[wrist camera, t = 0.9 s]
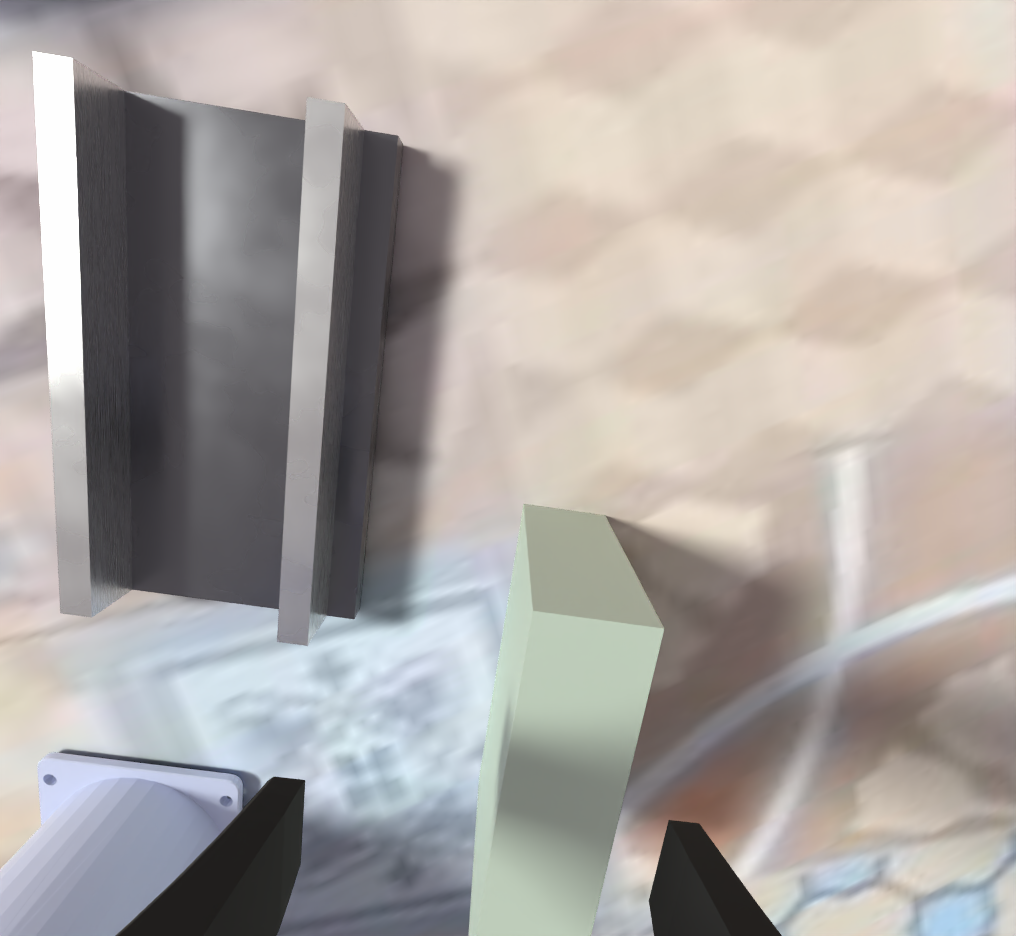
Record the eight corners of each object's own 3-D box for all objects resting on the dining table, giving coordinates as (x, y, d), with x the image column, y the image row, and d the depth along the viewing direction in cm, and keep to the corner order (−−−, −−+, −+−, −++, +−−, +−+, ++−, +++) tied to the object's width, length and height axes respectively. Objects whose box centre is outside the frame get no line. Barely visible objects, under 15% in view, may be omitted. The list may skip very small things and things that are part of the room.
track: (402, 144, 17) (383, 109, 15) (360, 608, 21) (337, 649, 18) (75, 90, 17) (-8, 44, 14) (92, 572, 21) (28, 609, 18)
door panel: (550, 785, 23) (571, 1016, 15) (479, 776, 23) (463, 1003, 15) (604, 514, 20) (664, 628, 12) (523, 502, 20) (533, 610, 12)
